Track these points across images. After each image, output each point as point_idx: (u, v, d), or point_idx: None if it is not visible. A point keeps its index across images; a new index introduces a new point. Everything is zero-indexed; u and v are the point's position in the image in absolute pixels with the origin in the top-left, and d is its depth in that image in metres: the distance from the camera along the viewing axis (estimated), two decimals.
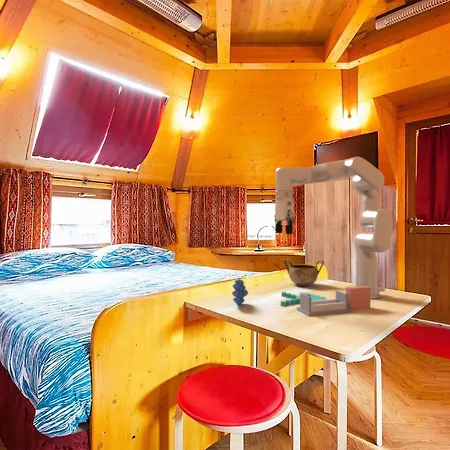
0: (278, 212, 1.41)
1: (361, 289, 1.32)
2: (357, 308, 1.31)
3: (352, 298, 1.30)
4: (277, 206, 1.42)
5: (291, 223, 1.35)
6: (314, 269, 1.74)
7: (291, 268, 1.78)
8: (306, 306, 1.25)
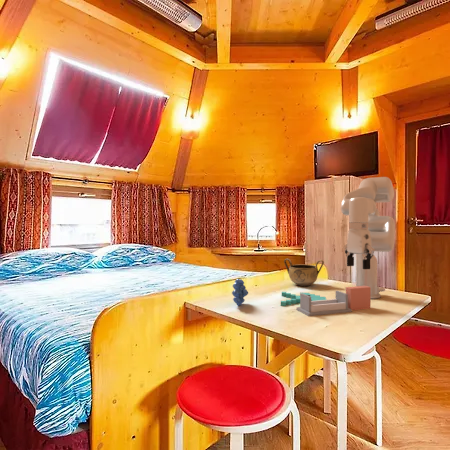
0: (352, 245, 1.32)
1: (361, 289, 1.32)
2: (357, 308, 1.31)
3: (352, 298, 1.30)
4: (351, 238, 1.33)
5: (369, 258, 1.26)
6: (314, 269, 1.74)
7: (291, 268, 1.78)
8: (306, 306, 1.25)
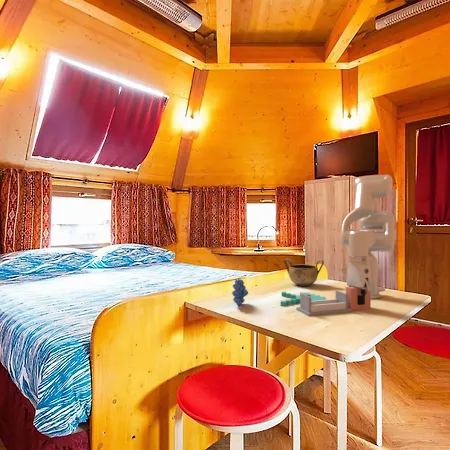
0: (352, 278, 1.33)
1: (361, 289, 1.32)
2: (357, 308, 1.31)
3: (352, 298, 1.30)
4: (351, 271, 1.34)
5: (364, 294, 1.30)
6: (314, 269, 1.74)
7: (291, 268, 1.78)
8: (306, 306, 1.25)
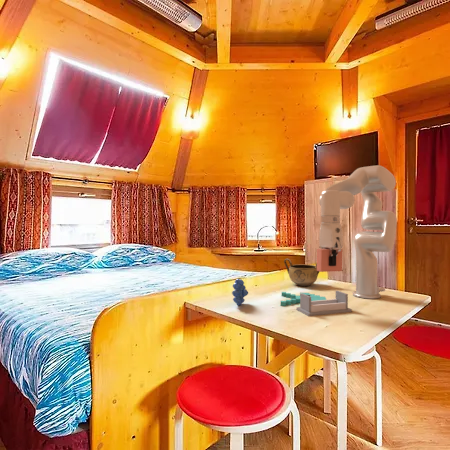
0: (324, 239, 1.29)
1: None
2: (328, 270, 1.27)
3: (323, 259, 1.27)
4: (322, 232, 1.30)
5: (335, 254, 1.26)
6: (314, 269, 1.74)
7: (291, 268, 1.78)
8: (306, 306, 1.25)
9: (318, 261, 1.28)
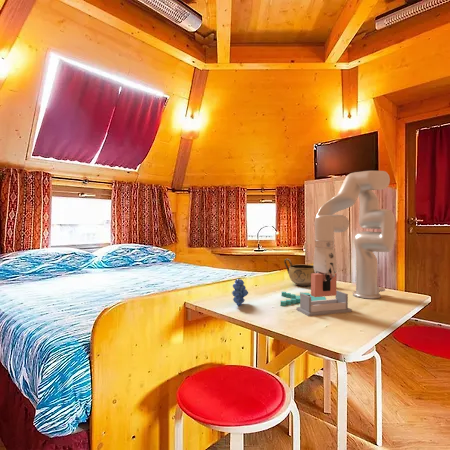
0: (318, 263, 1.29)
1: None
2: (322, 295, 1.27)
3: (317, 284, 1.27)
4: (316, 256, 1.30)
5: (329, 280, 1.26)
6: None
7: (291, 268, 1.78)
8: (306, 306, 1.25)
9: (312, 286, 1.28)
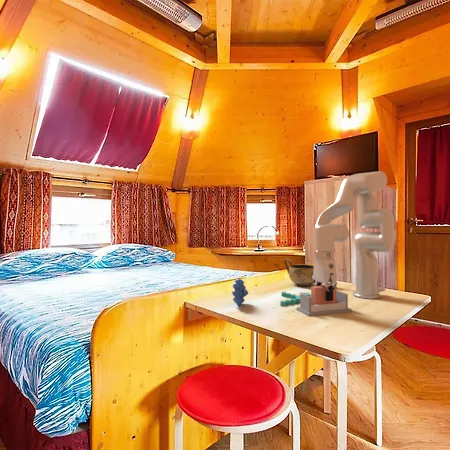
0: (318, 273, 1.29)
1: None
2: None
3: (317, 297, 1.27)
4: (316, 266, 1.30)
5: (332, 290, 1.24)
6: None
7: (291, 268, 1.78)
8: (306, 306, 1.25)
9: (312, 299, 1.28)
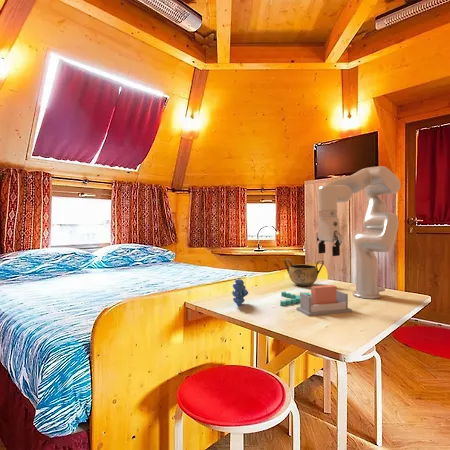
0: (322, 232, 1.35)
1: (326, 288, 1.28)
2: None
3: (317, 297, 1.27)
4: (321, 226, 1.35)
5: (338, 245, 1.29)
6: (314, 269, 1.74)
7: (291, 268, 1.78)
8: (306, 306, 1.25)
9: (312, 299, 1.28)
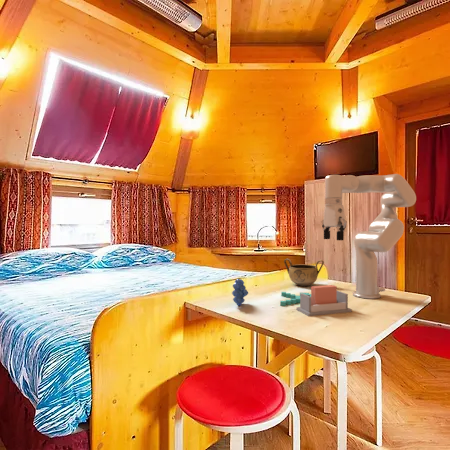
0: (328, 218, 1.44)
1: (326, 288, 1.28)
2: None
3: (317, 297, 1.27)
4: (326, 213, 1.45)
5: (342, 230, 1.38)
6: (314, 269, 1.74)
7: (291, 268, 1.78)
8: (306, 306, 1.25)
9: (312, 299, 1.28)
